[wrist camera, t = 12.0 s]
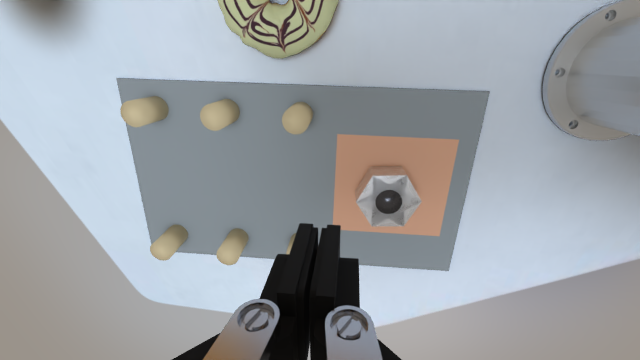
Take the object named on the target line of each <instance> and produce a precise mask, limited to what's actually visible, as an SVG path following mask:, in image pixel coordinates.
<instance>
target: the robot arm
mask: <svg viewBox="0 0 640 360" xmlns="http://www.w3.org/2000/svg"><path fill="white" fill-rule="evenodd" d="M555 72H556V74H555ZM543 101H544V105H545V108H546V111H547V113H548V115H549V117H550V119H551V120H552V121H553V122H554V123H555V124H556V125H557V127H558V128H560V129H561V130H563V131H564V132H566V133H568V134H570V135H573V136H576V137H578V138H582V139H587V140H595V141H605V140H613V139H618V138H622V137H625V136H629V135H631V134H633V135H637V136H640V0H621V1H618V2H615V3H612V4H610V5H607V6H604V7H602V8H601V9H599V10H597V11H595V12H593V13H591V14H590V15H588V16H587V17H586V18H584V19H583V20H582V21H581V22H579V23H578V24H577V25H576V26H575V27H574V28H573V29H572V30H571V31H570V32H569V33H568V34H567V35H566V36H565V37H564V38H563V40H562V41H561V42H560V44H559V45H558V47H557V48H556V49H555V51H554V53H553V55H552V57H551V59H550V61H549V63H548V66H547V69H546V72H545V75H544V81H543ZM340 233H341V225H327V228H322V230H321V235H320V240H319V246H318V227H314V226H313V224H308V223H300V224H299V226H298V229H297V232H296V235H295V238H294V241H293V244H292V247H291V251H290V254H277V256H276V258H275V261H274V263H273V266H272V268H271V271H270V274H269V276H268V279H267V281H266V284H265V286H264V289H263V291H262V294H261V296H260V299H255V300H251V301H248V302H246V303H244V304H243V305H241V306H240V307H239V308H238V309H237V310H236V311H235V312H234V314H233V315H232V317H231V318H230V320H229V321H228V323H227V324H226V326H225V327H224V329H223V330H222V332H221V333H219V334H217V335H216V336H214V337H212V338H210V339H208V340H207V341H205V342H203V343H201V344H199V345H198V346H196V347H194V348H192V349H190V350H189V351H187V352H185V353H183V354H181V355H179V356H178V357H176V358H174V359H172V360H307V357H308V351H309V345H310V353H311V360H401V359H400V358H399V357H398V356H397V355H395V354H394V353H393V352H392V351H391V350H390V349H389V348H388V347H386V346H385V345H384V344H383V343H382V342H381V341H379V340H378V339H377V336H376V332H375V328H374V324H373V321H372V319H371V317H370V316H369V315H368V314H367V312H365V311H364V310H362V309H361V308H360V302H359V259H358V258H341V257H340Z"/></svg>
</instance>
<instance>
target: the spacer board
mask: <svg viewBox="0 0 640 360" xmlns="http://www.w3.org/2000/svg"><path fill="white" fill-rule="evenodd" d="M116 79H117V83H118V88H119V93H120V98H121V102H122V106H121V116H122V118H123V119H124V121H125V122H126V126H127V131H128V135H129V140H130V145H131V150H132V154H133V159H134V164H135V169H136V173H137V178H138V183H139V187H140V192H141V197H142V202H143V206H144V211H145V216H146V221H147V225H148V230H149V235H150V239H151V244H152V245H151V247H150V251H151V253H152V255H153V256H154V257H155V258H157V259H159V260H168V259H169V258H170V257H171V256H172V255H173V254H174V253H175V252H182V253H196V254H211V255H217V258H218V260H219V261H220V262H221V263H223V264H226V265H233V264H235V263H236V262H237V261H238V259H239V257H254V258H268V259H275V258H276V256H277V254H290V251H291V247H292V244H293V241H294V238H295V235H296V232H297V229H298V226H299V224H300V223H308V224H313V226H314V227H318V246H319V240H320V235H321V230H322V228H327V225H341V233H340V257H341V258H358V259H359V265H369V266H384V267H398V268H412V269H427V270H441V271H449V267H450V262H451V258H452V254H453V249H454V245H455V241H456V236H457V232H458V227H459V223H460V219H461V214H462V210H463V206H464V201H465V197H466V193H467V188H468V184H469V180H470V175H471V171H472V166H473V162H474V158H475V153H476V149H477V145H478V140H479V136H480V132H481V127H482V123H483V118H484V114H485V110H486V105H487V101H488V97H489V91H462V90H434V89H406V88H377V87H349V86H321V85H293V84H265V83H236V82H208V81H180V80H152V79H123V78H116ZM370 166H402V167H403V169H404V171H405V173H406V174H407V176H408V178H409V180H410V181H411V183H412V185H413V187H414V188H415V190H416V192H417V194H418V195H419V197H420V199H421V201H422V202H421V204H420V205H419V206H418V208H417V209H416V210H415V212H414V213H413V214H412V216H411V217H410V218H409V220H408V221H407V223H406V224H405V225H404V226H378V227H372V226H371V225H370V223H369V222H368V220H367V218H366V217H365V215H364V214H363V212H362V211H361V209H360V208H359V206H358V205H357V203H356V197H355V190H356V189H357V187H358V185H359V184H360V182H361V181H362V179H363V177H364V176H365V174H366V173H367V171H368V169H369V168H370Z"/></svg>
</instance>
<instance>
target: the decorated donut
mask: <svg viewBox="0 0 640 360" xmlns="http://www.w3.org/2000/svg"><path fill="white" fill-rule="evenodd" d="M338 2H339V0H288V2H287V3H286V4H284V5H280V4H277V3H273V4H272V3H271V2H270V0H218V3H219V6H220V9H221V11H222V13H223V15H224V17H225V21H226V24H227V26H228V27H229V28H230V30H231V31H232V32H234V33H236V34H237V35H238V36H240V38H241V40H242V42H243V43H244V44H246V45H248V46H251V47H253V48H256V49H257V50H259V51H260V52H262V53H263V54H265V55H266V56H270V57H272V58H286V57H289V56H291V55H295V54H298V53H300V52H301V51H302V50H304V49H306V48H308V47H309V46H311V45H312V44H314V43H315V42H317V41H318V39H320V38H321V36H322V35H323V34H324V33H325V31H326V29H327V28H328V26H329V24H330V22H331V19H332V17H333V14H334V11H335V9H336V6H337V4H338Z"/></svg>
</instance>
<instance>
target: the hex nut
mask: <svg viewBox="0 0 640 360" xmlns="http://www.w3.org/2000/svg"><path fill="white" fill-rule="evenodd" d="M355 197H356V203H357V205H358V206H359V208H360V209H361V211H362V212H363V214H364V215H365V217H366V218H367V220H368V222H369V223H370V225H371V226H372V227H378V226H404V225H405V224H406V223H407V221H408V220H409V218H410V217H411V216H412V214H413V213H414V212H415V210H416V209H417V208H418V206H419V205H420V204H421V202H422V201H421V199H420V197H419V195H418V194H417V192H416V190H415V188H414V187H413V185H412V183H411V181H410V180H409V178H408V176H407V174H406V173H405V171H404V169H403V167H402V166H370V168H369V169H368V171H367V173H366V174H365V176H364V177H363V179H362V181H361V182H360V184H359V185H358V187H357V189H356V190H355Z"/></svg>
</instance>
